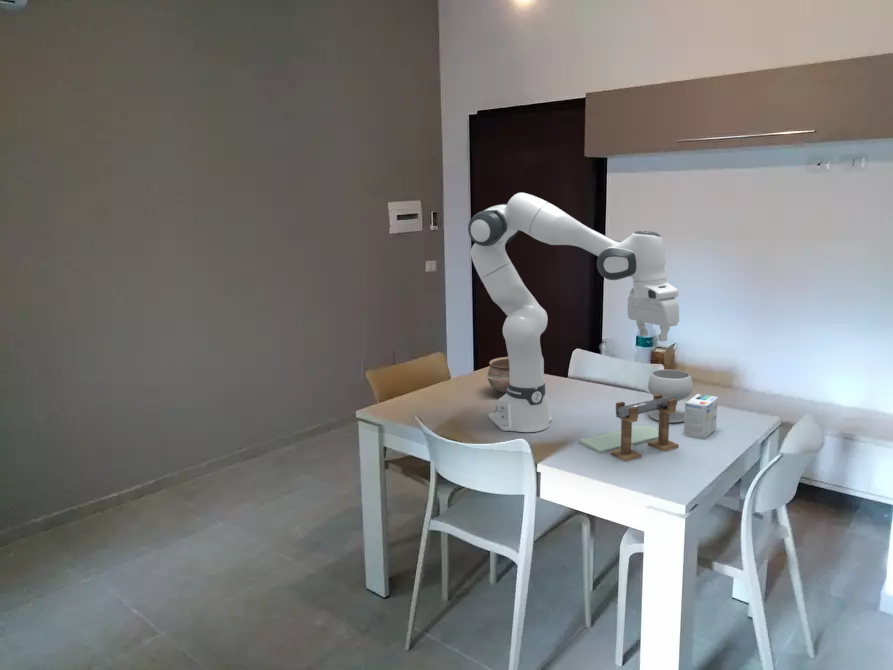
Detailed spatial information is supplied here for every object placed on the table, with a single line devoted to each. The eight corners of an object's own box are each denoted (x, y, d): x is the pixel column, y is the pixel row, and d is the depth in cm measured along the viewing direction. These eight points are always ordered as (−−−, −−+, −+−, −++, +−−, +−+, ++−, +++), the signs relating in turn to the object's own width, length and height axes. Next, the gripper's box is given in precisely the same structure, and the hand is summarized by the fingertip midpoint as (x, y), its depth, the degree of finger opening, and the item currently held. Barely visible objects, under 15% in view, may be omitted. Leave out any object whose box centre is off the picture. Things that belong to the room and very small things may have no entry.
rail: (621, 420, 182) (623, 410, 181) (614, 414, 185) (616, 405, 184) (675, 408, 191) (678, 399, 190) (668, 402, 193) (670, 394, 192)
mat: (579, 442, 198) (579, 440, 198) (645, 427, 210) (645, 424, 209) (600, 453, 190) (600, 450, 189) (668, 436, 201) (668, 434, 201)
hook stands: (609, 454, 189) (610, 404, 186) (662, 441, 197) (664, 393, 194) (625, 461, 183) (626, 410, 180) (679, 448, 192) (681, 398, 189)
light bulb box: (695, 425, 210) (696, 393, 208) (716, 429, 206) (718, 396, 203) (682, 435, 202) (684, 401, 199) (705, 439, 197) (707, 405, 195)
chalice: (697, 424, 210) (699, 379, 207) (652, 425, 211) (654, 380, 208) (684, 410, 224) (686, 368, 221) (642, 411, 225) (644, 368, 222)
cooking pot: (518, 382, 265) (518, 352, 263) (553, 391, 251) (553, 360, 248) (471, 395, 250) (470, 363, 247) (506, 406, 235) (505, 373, 233)
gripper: (620, 288, 191) (623, 335, 194) (661, 293, 172) (664, 345, 174) (639, 285, 193) (642, 332, 195) (682, 290, 173) (685, 341, 176)
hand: (653, 338), depth 185 cm, fingers open, 8 cm apart
